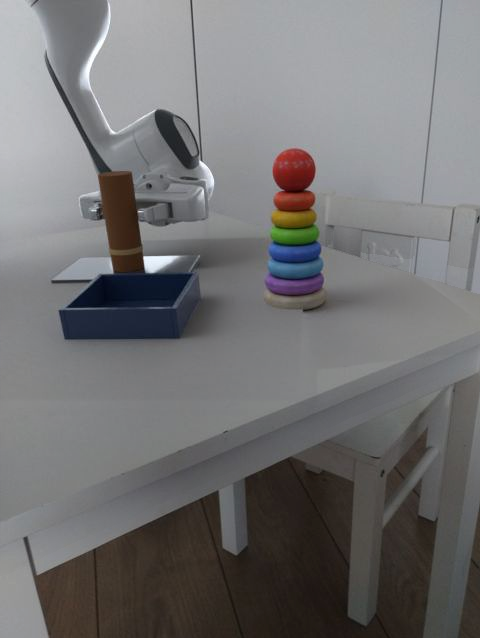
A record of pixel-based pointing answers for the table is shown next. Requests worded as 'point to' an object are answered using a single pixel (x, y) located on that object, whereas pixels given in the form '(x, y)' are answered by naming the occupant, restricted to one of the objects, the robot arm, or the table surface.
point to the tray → (132, 306)
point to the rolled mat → (121, 220)
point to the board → (92, 267)
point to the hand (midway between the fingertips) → (117, 215)
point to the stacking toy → (294, 237)
